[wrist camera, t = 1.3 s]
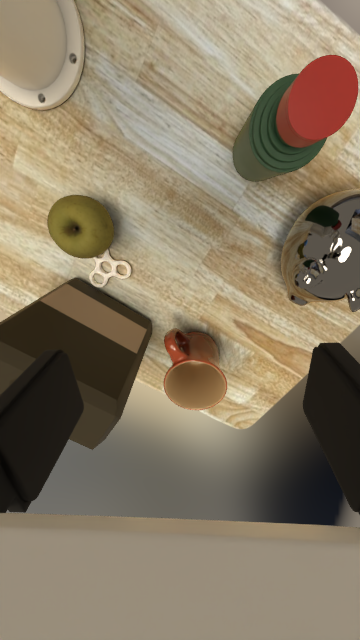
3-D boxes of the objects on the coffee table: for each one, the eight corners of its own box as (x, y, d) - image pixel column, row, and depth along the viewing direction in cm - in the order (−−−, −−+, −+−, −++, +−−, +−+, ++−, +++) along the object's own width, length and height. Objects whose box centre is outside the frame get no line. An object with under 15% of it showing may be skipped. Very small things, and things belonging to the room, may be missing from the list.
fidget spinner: (90, 239, 37) (88, 240, 36) (133, 247, 37) (132, 248, 36) (90, 284, 40) (88, 286, 39) (130, 292, 40) (128, 293, 39)
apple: (117, 259, 38) (99, 268, 31) (65, 245, 37) (36, 251, 31) (125, 206, 35) (107, 203, 28) (69, 190, 34) (38, 184, 28)
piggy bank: (250, 275, 38) (269, 304, 27) (311, 167, 31) (365, 152, 21) (314, 304, 39) (356, 342, 28) (386, 205, 32) (473, 208, 22)
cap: (277, 80, 16) (289, 60, 14) (340, 68, 16) (364, 46, 14) (274, 151, 18) (285, 144, 16) (332, 142, 18) (352, 134, 15)
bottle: (136, 355, 45) (73, 507, 23) (54, 310, 43) (-109, 433, 20) (158, 322, 42) (109, 462, 20) (70, 271, 39) (-102, 366, 17)
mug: (230, 356, 44) (237, 397, 35) (187, 374, 46) (183, 417, 37) (197, 300, 40) (195, 330, 31) (151, 323, 42) (138, 358, 33)
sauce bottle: (231, 124, 30) (265, 41, 14) (287, 115, 29) (388, 15, 13) (233, 184, 33) (263, 171, 17) (284, 177, 32) (365, 156, 16)
